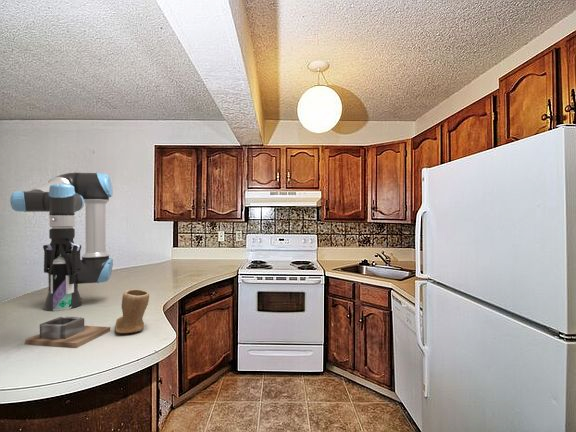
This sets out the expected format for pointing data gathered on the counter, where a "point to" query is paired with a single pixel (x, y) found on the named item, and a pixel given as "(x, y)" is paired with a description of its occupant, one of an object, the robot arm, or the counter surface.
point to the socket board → (72, 339)
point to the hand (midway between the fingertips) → (62, 292)
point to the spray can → (60, 285)
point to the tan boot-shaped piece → (132, 311)
